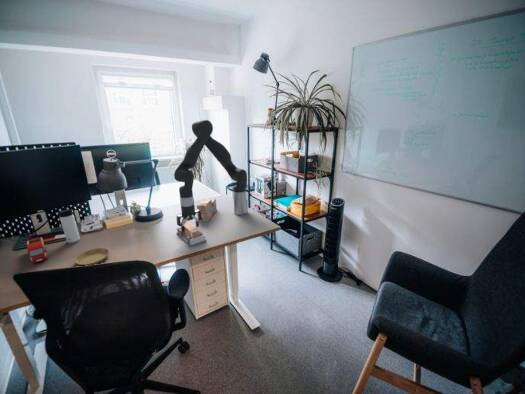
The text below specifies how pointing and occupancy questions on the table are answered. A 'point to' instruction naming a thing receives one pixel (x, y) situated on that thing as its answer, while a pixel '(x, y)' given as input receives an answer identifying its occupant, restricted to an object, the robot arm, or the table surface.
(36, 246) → the toy truck
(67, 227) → the travel mug
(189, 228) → the peach lotion tube
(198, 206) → the stack of blocks
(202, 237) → the cradle jig
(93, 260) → the plant saucer
